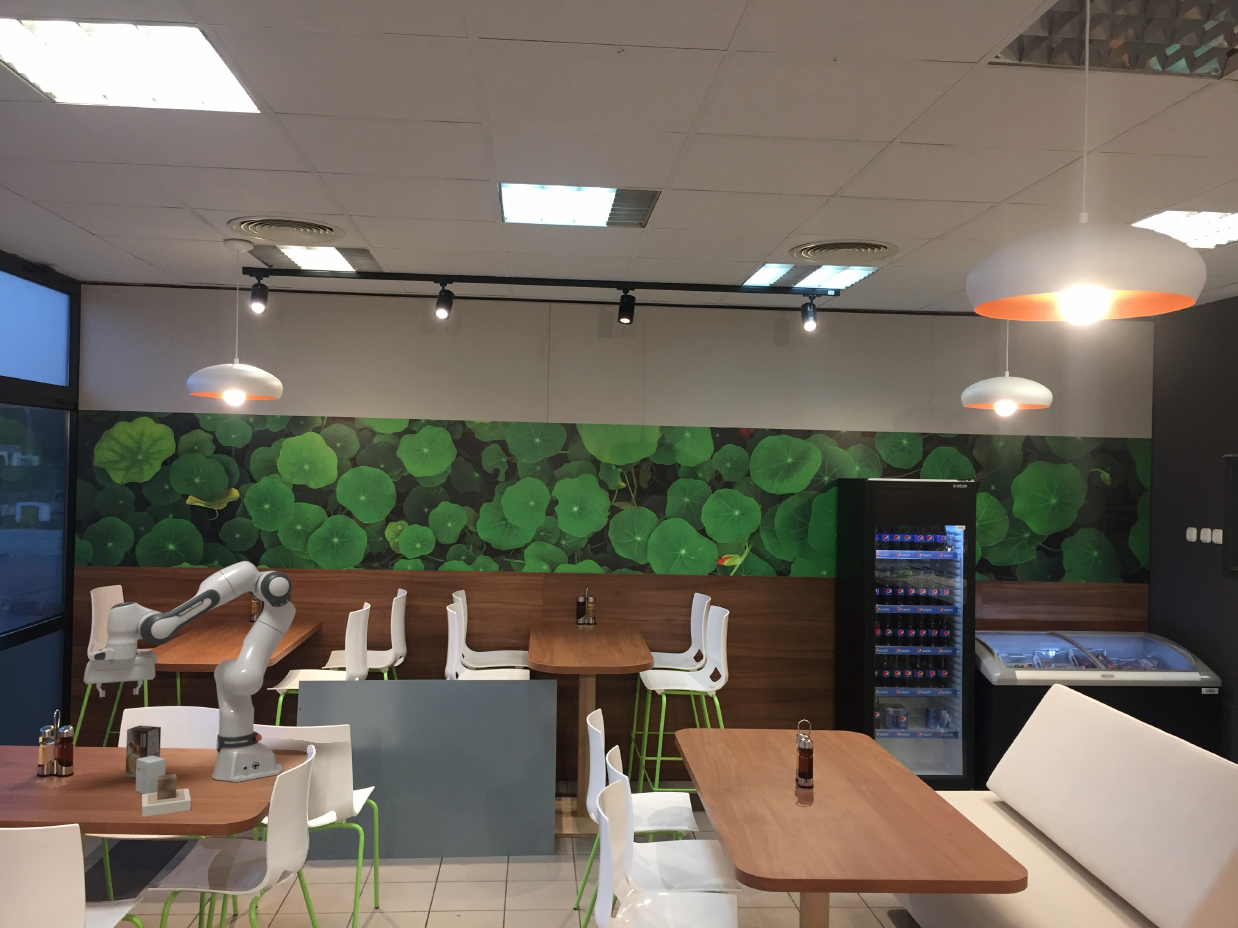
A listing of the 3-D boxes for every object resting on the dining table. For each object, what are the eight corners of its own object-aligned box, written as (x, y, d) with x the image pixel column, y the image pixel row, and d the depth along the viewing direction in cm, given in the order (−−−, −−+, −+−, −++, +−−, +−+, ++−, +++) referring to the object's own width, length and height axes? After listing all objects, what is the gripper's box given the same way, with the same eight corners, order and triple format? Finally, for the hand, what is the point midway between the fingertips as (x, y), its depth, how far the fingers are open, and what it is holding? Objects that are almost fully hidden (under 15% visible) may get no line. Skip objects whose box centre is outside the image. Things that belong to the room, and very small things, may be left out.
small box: (165, 791, 283) (166, 758, 284) (147, 796, 279) (149, 762, 279) (152, 786, 288) (153, 754, 288) (134, 791, 283) (136, 758, 284)
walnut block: (175, 792, 272) (175, 773, 272) (175, 797, 268) (176, 777, 268) (157, 795, 270) (157, 775, 270) (157, 799, 265) (158, 779, 266)
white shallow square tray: (188, 797, 277) (188, 787, 278) (190, 810, 266) (190, 799, 266) (141, 803, 271) (142, 793, 271) (141, 816, 260) (142, 805, 260)
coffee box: (160, 773, 302) (162, 726, 303) (146, 778, 296) (148, 730, 297) (138, 771, 305) (140, 724, 306) (124, 776, 298) (126, 729, 299)
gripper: (157, 649, 291) (155, 690, 290) (85, 652, 281) (83, 696, 280) (157, 651, 286) (155, 694, 285) (84, 655, 276) (82, 699, 275)
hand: (119, 695), depth 282 cm, fingers open, 8 cm apart
